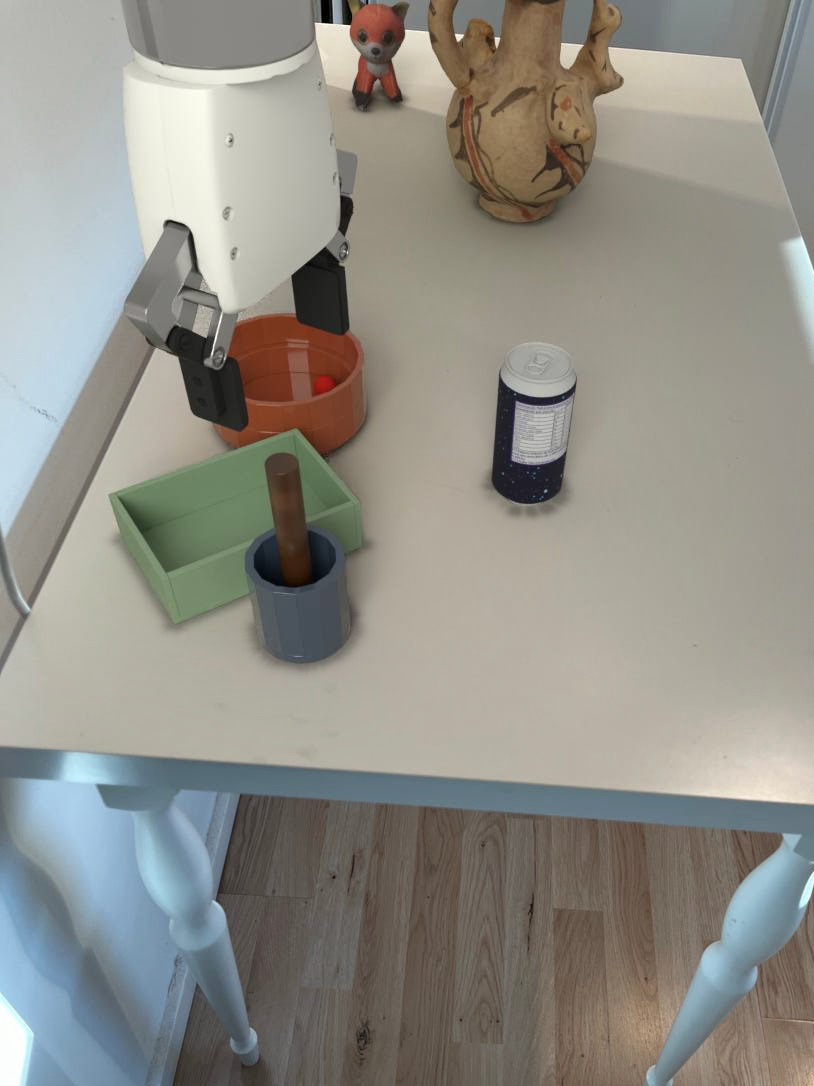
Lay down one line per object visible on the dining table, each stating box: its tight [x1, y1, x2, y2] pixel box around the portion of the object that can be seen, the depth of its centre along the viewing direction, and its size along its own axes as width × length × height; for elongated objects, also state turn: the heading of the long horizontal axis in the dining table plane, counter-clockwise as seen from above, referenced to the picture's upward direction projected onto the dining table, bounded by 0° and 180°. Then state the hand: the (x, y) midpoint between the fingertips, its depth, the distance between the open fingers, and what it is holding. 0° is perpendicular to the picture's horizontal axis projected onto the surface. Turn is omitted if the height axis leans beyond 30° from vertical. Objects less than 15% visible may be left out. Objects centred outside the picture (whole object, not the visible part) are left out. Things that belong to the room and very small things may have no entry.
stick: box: [264, 452, 314, 588], centre depth 62 cm, size 2×2×14 cm
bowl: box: [211, 312, 368, 457], centre depth 81 cm, size 13×13×6 cm
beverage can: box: [491, 341, 578, 507], centre depth 74 cm, size 6×6×12 cm
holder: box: [245, 524, 352, 664], centre depth 66 cm, size 6×6×7 cm
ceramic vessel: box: [427, 0, 625, 224], centre depth 101 cm, size 18×19×25 cm
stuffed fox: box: [347, 0, 410, 112], centre depth 123 cm, size 8×11×12 cm
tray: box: [107, 428, 364, 625], centre depth 72 cm, size 15×10×4 cm, turn 124°
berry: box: [314, 375, 337, 396], centre depth 84 cm, size 2×2×2 cm
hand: (274, 371), depth 52 cm, fingers open, 9 cm apart
